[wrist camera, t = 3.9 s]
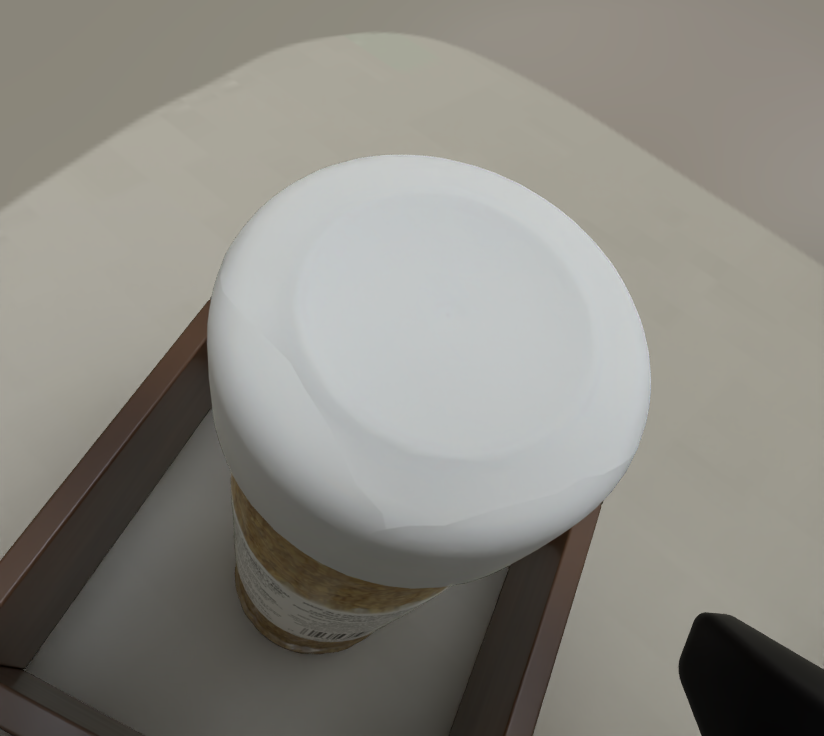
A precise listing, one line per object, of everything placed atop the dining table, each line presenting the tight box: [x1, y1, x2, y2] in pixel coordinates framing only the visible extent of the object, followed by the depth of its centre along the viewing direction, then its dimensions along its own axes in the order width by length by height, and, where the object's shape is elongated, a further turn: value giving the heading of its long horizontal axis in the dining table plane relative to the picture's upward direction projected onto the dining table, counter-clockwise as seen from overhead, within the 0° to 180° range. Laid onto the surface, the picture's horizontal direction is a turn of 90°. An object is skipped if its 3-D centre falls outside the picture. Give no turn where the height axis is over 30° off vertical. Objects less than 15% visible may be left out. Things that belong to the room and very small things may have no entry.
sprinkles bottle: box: [207, 155, 651, 654], centre depth 12 cm, size 5×5×13 cm
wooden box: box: [0, 296, 604, 736], centre depth 16 cm, size 10×11×4 cm
